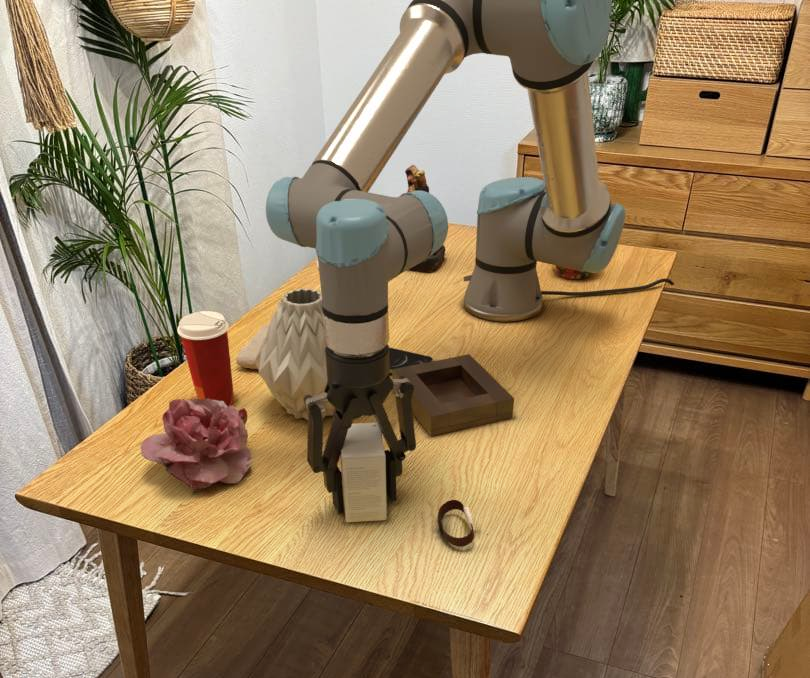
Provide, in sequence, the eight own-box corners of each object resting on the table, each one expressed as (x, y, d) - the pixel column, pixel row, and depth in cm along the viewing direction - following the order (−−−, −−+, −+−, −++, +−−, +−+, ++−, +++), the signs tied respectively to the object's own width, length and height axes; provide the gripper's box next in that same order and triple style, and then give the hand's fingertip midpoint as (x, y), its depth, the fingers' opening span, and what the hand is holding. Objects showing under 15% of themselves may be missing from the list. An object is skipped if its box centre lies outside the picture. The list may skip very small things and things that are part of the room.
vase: (250, 394, 130) (234, 285, 118) (344, 375, 135) (337, 268, 123) (278, 444, 118) (263, 329, 106) (379, 421, 123) (376, 308, 111)
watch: (481, 547, 100) (483, 525, 98) (445, 552, 99) (446, 530, 97) (465, 511, 106) (466, 489, 103) (431, 515, 105) (432, 493, 103)
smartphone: (361, 340, 143) (435, 357, 137) (361, 345, 143) (435, 362, 138) (339, 357, 138) (415, 375, 132) (339, 362, 138) (415, 380, 133)
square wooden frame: (468, 372, 135) (469, 353, 133) (512, 417, 124) (514, 398, 122) (392, 388, 131) (392, 369, 129) (430, 436, 120) (431, 416, 118)
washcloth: (336, 334, 147) (335, 318, 145) (300, 379, 134) (298, 362, 132) (277, 326, 149) (275, 311, 147) (236, 370, 136) (233, 354, 134)
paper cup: (248, 394, 130) (236, 313, 121) (225, 417, 124) (211, 334, 115) (207, 386, 132) (191, 306, 123) (182, 409, 126) (164, 327, 117)
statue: (431, 275, 168) (433, 175, 155) (398, 269, 171) (396, 170, 158) (453, 256, 176) (457, 160, 163) (421, 250, 179) (422, 155, 166)
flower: (119, 468, 109) (126, 408, 103) (180, 427, 120) (190, 370, 114) (212, 516, 107) (225, 458, 101) (265, 470, 119) (279, 415, 113)
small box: (343, 487, 110) (338, 422, 103) (383, 485, 110) (381, 420, 104) (344, 523, 104) (340, 457, 97) (387, 521, 104) (385, 454, 97)
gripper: (422, 317, 97) (420, 470, 112) (266, 345, 92) (286, 502, 107) (447, 342, 92) (442, 500, 107) (283, 374, 86) (302, 535, 101)
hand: (364, 501), depth 107 cm, fingers closed on small box, 7 cm apart
